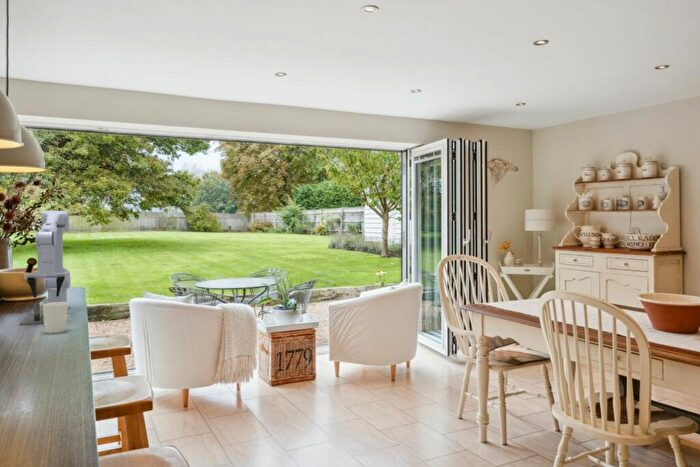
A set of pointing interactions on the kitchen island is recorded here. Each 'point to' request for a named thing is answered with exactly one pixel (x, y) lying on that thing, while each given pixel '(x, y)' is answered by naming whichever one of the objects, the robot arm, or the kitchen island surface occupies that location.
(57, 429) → the kitchen island surface
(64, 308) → the white cup
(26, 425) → the kitchen island surface
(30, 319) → the mat
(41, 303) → the pale green slotted bar
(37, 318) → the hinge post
